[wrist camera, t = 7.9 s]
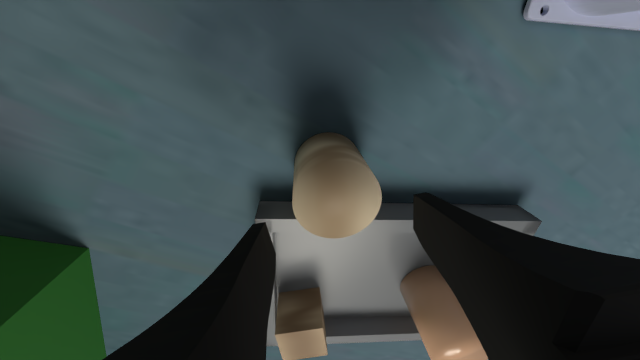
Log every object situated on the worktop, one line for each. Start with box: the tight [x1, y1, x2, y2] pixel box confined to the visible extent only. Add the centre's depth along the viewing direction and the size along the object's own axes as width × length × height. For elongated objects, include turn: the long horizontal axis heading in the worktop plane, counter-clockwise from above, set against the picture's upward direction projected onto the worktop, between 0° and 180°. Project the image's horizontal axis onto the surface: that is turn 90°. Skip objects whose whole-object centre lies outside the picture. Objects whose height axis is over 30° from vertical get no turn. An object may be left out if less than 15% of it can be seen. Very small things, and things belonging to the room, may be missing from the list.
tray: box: [255, 201, 542, 346], centre depth 23 cm, size 22×15×2 cm
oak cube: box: [275, 287, 328, 360], centre depth 22 cm, size 4×4×4 cm
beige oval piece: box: [292, 132, 382, 238], centre depth 16 cm, size 5×5×6 cm
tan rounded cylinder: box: [400, 266, 488, 360], centre depth 21 cm, size 5×5×6 cm
